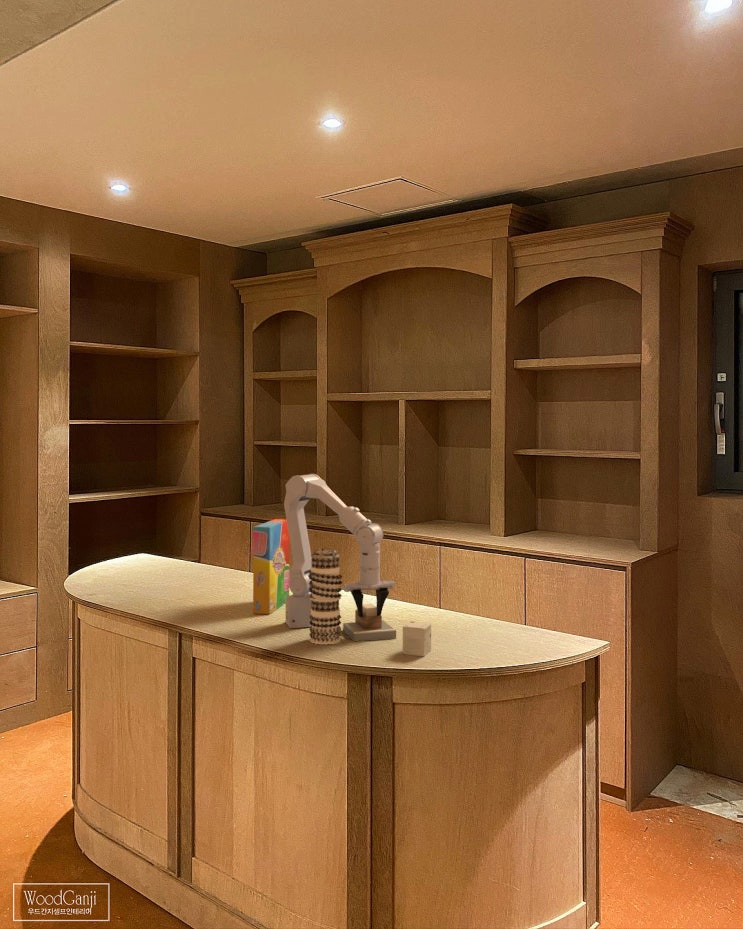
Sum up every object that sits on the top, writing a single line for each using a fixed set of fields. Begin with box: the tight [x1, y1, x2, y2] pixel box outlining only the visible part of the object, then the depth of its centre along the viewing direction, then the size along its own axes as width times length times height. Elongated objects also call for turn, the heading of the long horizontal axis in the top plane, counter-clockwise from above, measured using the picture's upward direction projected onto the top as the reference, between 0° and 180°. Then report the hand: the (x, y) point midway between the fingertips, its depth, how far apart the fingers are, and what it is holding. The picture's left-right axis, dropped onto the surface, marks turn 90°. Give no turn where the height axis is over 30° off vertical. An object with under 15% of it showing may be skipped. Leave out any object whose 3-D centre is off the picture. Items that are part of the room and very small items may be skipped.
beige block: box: [363, 603, 377, 617], centre depth 230 cm, size 3×5×3 cm, turn 18°
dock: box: [342, 619, 397, 642], centre depth 227 cm, size 12×12×2 cm
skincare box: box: [402, 620, 432, 657], centre depth 210 cm, size 6×6×7 cm
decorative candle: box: [308, 548, 343, 646], centre depth 219 cm, size 9×9×25 cm
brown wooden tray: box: [354, 609, 383, 629], centre depth 229 cm, size 5×9×3 cm, turn 18°
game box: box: [252, 518, 290, 615], centre depth 257 cm, size 21×6×27 cm, turn 168°
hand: (369, 615), depth 227 cm, fingers open, 5 cm apart
